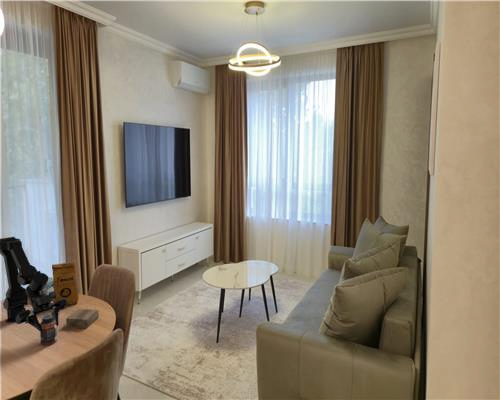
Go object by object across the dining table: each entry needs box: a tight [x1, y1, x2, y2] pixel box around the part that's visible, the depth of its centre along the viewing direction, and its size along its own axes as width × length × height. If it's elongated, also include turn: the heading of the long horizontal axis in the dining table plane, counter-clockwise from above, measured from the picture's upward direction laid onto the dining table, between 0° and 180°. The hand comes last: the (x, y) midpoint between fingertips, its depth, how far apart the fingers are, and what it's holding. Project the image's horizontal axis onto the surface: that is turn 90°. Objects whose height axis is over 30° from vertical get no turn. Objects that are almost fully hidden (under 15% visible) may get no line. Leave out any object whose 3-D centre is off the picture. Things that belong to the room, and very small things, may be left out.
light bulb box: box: [42, 276, 54, 295], centre depth 190 cm, size 11×7×11 cm, turn 84°
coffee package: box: [51, 261, 80, 306], centre depth 182 cm, size 10×12×22 cm
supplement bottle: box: [39, 314, 58, 346], centre depth 144 cm, size 6×6×11 cm
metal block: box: [65, 308, 100, 329], centre depth 162 cm, size 10×10×4 cm
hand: (49, 328), depth 143 cm, fingers closed on supplement bottle, 6 cm apart
